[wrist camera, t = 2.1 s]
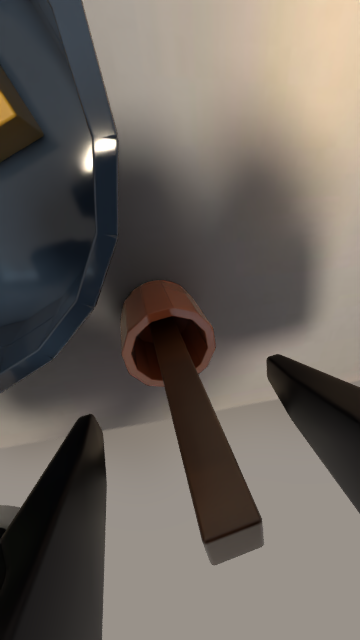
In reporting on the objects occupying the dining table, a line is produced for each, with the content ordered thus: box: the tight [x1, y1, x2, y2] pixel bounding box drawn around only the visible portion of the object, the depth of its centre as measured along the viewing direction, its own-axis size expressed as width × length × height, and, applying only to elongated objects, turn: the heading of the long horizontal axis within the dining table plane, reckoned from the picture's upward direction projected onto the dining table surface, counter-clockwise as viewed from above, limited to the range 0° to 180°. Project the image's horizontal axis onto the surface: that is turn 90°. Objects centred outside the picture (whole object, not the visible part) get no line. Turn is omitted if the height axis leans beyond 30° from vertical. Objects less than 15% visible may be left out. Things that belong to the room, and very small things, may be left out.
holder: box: [120, 280, 216, 387], centre depth 12 cm, size 4×4×4 cm
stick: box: [149, 316, 264, 565], centre depth 9 cm, size 1×1×10 cm
